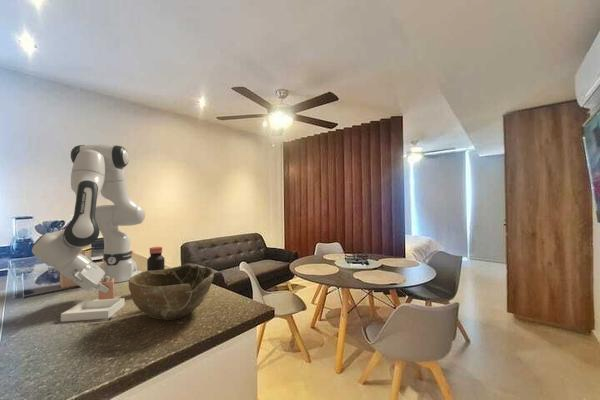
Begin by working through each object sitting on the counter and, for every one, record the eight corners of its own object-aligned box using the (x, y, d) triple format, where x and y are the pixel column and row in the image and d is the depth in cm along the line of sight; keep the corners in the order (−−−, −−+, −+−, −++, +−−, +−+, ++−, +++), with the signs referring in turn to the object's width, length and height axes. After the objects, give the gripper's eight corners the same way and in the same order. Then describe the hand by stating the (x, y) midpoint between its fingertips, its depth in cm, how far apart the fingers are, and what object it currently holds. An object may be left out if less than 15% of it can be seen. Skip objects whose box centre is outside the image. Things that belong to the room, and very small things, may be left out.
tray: (83, 310, 100) (83, 300, 100) (124, 307, 103) (124, 298, 103) (60, 324, 88) (60, 314, 88) (108, 321, 91) (108, 310, 91)
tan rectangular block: (59, 284, 132) (59, 239, 133) (82, 280, 139) (82, 238, 139) (62, 290, 124) (63, 242, 124) (86, 285, 130) (86, 240, 130)
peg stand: (94, 301, 109) (94, 275, 109) (121, 297, 113) (121, 272, 113) (90, 309, 101) (90, 281, 101) (118, 304, 105) (118, 278, 105)
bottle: (167, 290, 122) (167, 246, 123) (158, 295, 116) (158, 249, 116) (153, 289, 123) (153, 246, 123) (143, 295, 116) (143, 248, 117)
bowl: (230, 310, 99) (230, 269, 99) (161, 343, 76) (161, 290, 76) (183, 297, 113) (182, 261, 113) (112, 322, 90) (112, 277, 90)
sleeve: (100, 300, 108) (100, 280, 108) (114, 298, 110) (114, 278, 110) (98, 303, 104) (98, 283, 104) (112, 301, 106) (112, 281, 106)
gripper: (78, 266, 95) (111, 289, 99) (90, 256, 112) (118, 276, 117) (61, 281, 92) (96, 304, 97) (76, 268, 110) (105, 288, 115)
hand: (108, 289), depth 107 cm, fingers closed on sleeve, 5 cm apart
